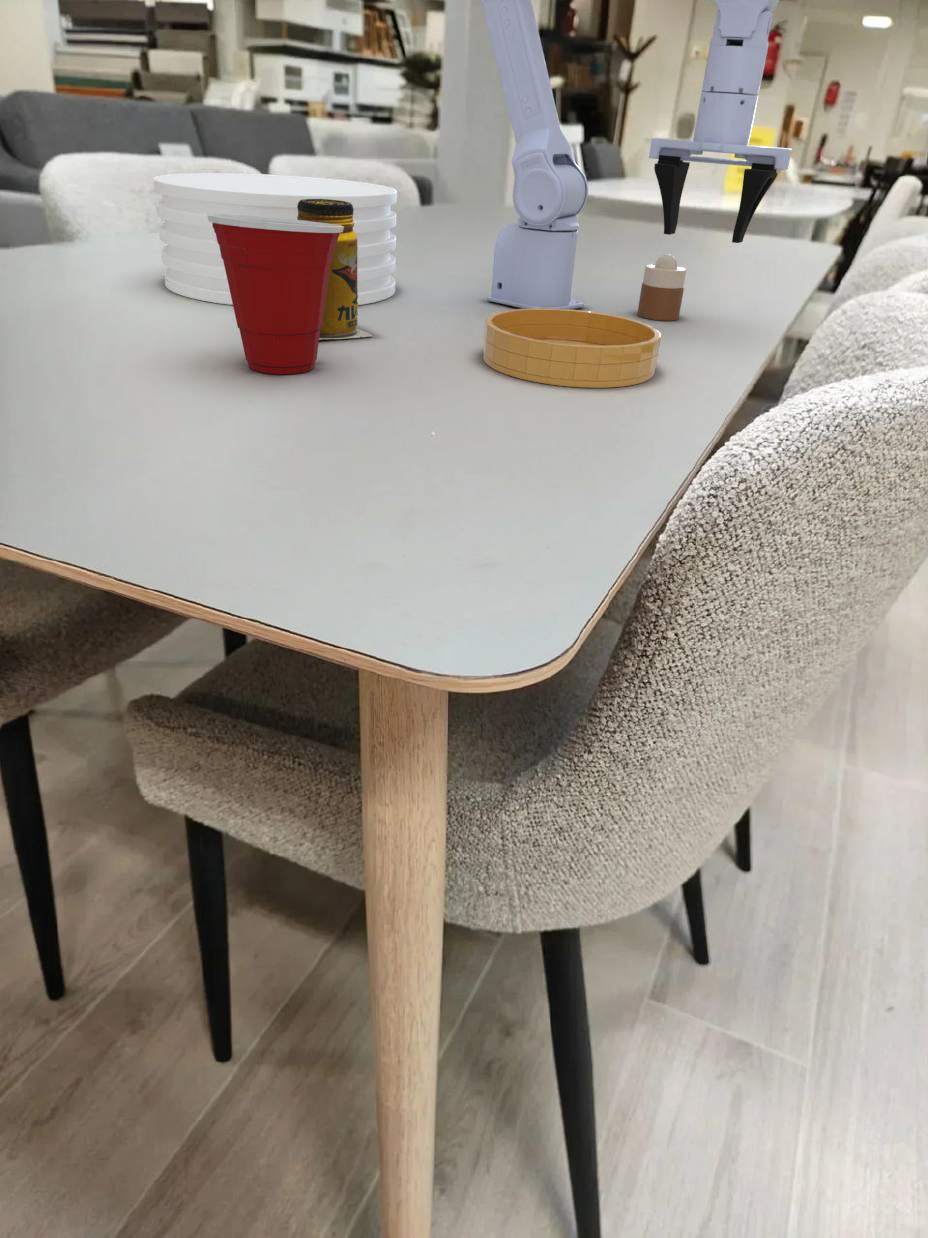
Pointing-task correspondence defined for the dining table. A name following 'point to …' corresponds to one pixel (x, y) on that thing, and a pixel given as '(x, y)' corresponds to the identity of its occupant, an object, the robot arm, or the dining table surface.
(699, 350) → the dining table surface
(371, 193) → the plate stack
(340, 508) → the dining table surface
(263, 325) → the plastic cup
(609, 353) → the bowl
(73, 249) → the dining table surface
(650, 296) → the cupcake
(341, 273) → the condiment
